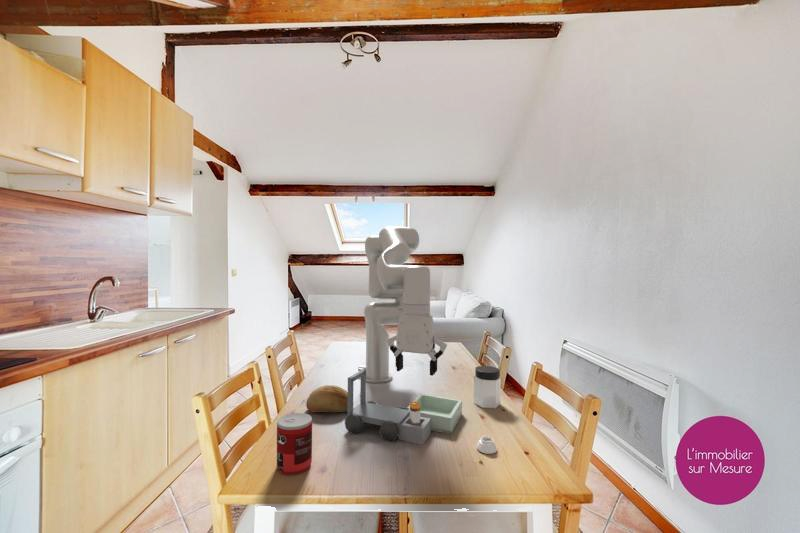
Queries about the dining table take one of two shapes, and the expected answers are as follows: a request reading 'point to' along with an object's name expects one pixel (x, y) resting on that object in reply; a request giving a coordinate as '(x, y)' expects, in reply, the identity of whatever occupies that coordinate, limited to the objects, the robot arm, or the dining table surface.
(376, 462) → the dining table surface
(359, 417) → the trolley
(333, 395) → the bread roll
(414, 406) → the stop pin
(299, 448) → the canned food
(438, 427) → the tray
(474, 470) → the dining table surface
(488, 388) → the jar
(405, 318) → the robot arm
